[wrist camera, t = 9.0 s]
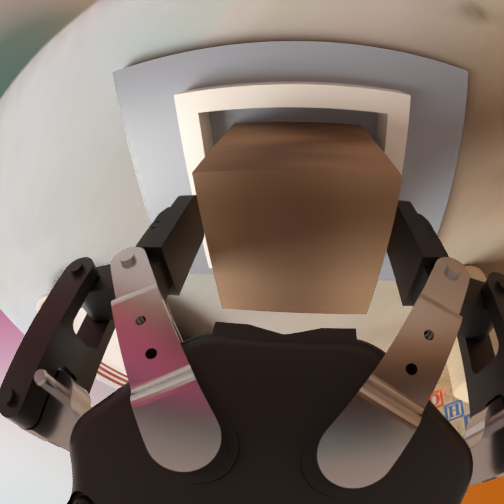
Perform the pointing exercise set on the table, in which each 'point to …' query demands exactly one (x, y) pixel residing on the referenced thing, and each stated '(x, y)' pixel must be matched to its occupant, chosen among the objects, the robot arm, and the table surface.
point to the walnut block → (297, 216)
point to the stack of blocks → (452, 408)
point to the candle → (455, 355)
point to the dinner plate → (112, 358)
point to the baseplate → (293, 113)
